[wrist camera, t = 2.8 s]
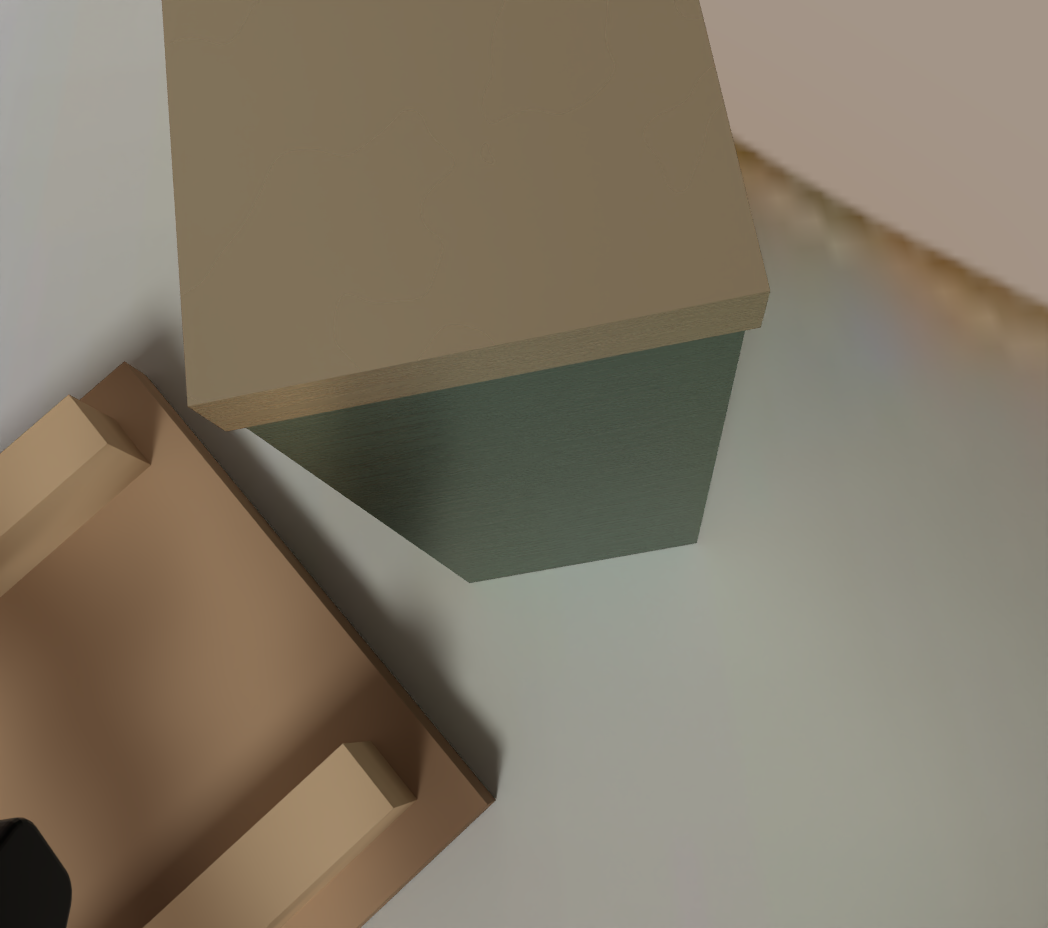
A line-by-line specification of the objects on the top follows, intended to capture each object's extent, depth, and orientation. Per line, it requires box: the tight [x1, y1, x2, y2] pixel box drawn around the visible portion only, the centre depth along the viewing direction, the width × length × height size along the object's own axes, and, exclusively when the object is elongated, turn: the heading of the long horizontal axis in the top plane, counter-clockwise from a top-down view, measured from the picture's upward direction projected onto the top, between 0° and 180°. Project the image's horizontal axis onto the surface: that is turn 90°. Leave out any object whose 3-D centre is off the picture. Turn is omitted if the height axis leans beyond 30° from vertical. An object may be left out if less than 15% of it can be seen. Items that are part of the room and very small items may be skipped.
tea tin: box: [162, 0, 770, 583], centre depth 15 cm, size 5×5×13 cm
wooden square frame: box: [0, 361, 496, 928], centre depth 20 cm, size 12×13×4 cm
